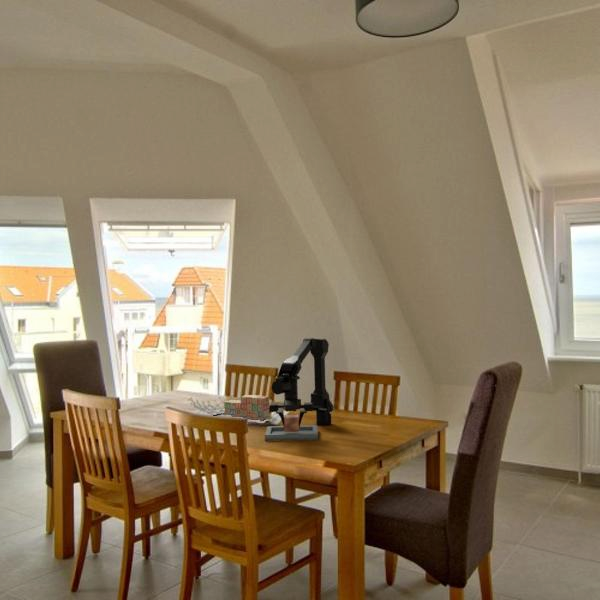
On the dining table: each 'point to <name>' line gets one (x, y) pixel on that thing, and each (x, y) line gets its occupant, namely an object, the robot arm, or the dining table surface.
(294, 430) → the cube
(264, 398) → the stack of blocks
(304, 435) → the tray
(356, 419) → the dining table surface
